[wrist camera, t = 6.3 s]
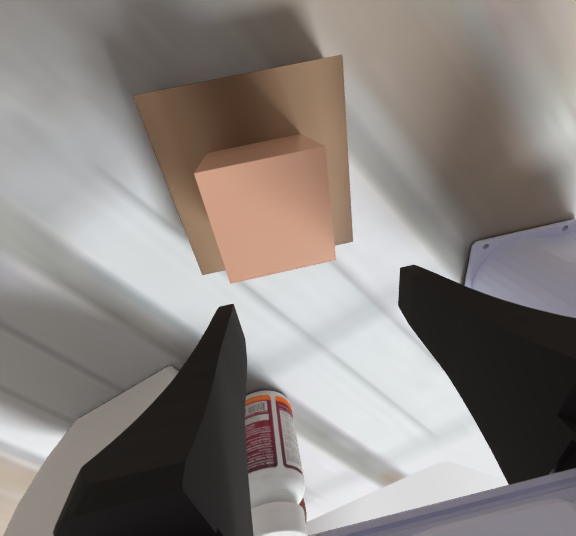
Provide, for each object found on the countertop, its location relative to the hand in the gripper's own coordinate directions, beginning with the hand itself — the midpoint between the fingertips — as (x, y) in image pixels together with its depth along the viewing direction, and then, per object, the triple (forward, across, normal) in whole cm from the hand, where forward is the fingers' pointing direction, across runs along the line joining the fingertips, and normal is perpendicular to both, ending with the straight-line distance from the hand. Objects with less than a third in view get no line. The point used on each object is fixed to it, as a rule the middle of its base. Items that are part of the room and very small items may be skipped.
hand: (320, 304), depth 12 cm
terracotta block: (+7, +1, -3) cm, 8 cm away
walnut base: (+10, +1, -4) cm, 11 cm away
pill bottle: (+10, +6, +20) cm, 23 cm away
